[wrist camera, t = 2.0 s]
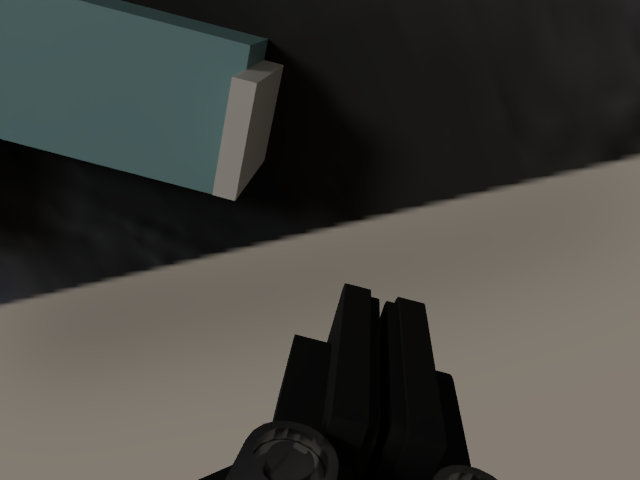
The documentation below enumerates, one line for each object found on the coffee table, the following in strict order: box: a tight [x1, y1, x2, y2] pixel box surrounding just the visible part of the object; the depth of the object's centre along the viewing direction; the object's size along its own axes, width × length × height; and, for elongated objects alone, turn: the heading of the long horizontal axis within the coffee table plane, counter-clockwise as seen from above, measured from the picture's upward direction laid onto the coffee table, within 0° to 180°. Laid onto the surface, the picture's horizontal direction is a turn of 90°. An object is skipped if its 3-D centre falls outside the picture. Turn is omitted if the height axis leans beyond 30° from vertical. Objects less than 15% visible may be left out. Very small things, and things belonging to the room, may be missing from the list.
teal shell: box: [0, 0, 284, 201], centre depth 25 cm, size 15×7×6 cm, turn 76°
